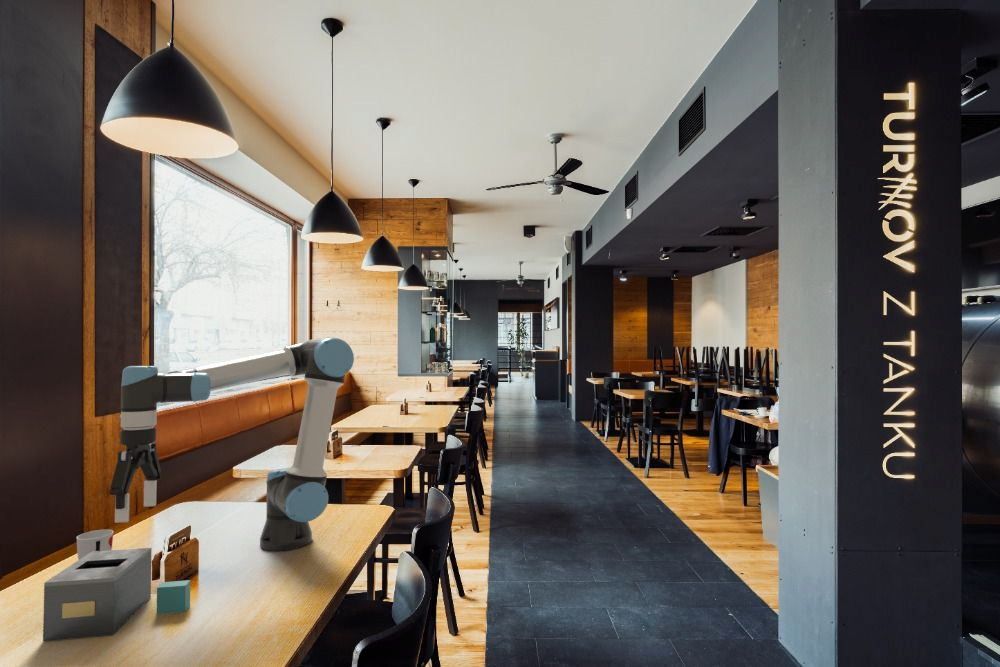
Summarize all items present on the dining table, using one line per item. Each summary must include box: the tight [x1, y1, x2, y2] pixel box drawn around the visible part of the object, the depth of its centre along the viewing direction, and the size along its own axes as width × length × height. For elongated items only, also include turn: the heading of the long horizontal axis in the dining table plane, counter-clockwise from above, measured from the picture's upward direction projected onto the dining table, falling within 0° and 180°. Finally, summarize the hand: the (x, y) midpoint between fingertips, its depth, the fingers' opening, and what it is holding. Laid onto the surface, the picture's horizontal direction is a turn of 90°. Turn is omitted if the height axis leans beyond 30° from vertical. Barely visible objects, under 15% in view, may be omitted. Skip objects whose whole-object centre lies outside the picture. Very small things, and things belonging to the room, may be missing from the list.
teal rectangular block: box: [156, 579, 191, 615], centre depth 127 cm, size 6×3×6 cm, turn 101°
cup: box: [76, 529, 114, 560], centre depth 149 cm, size 8×8×10 cm
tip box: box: [42, 547, 152, 642], centre depth 123 cm, size 13×18×12 cm
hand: (136, 513), depth 136 cm, fingers open, 13 cm apart
